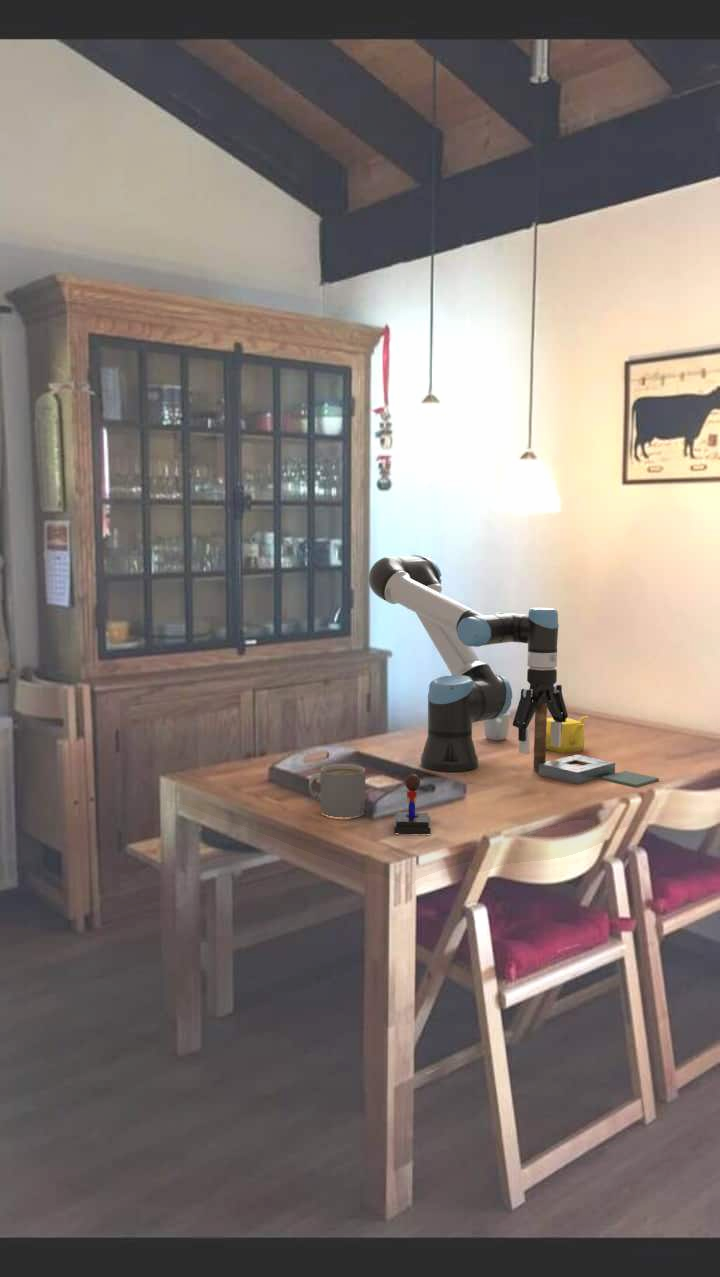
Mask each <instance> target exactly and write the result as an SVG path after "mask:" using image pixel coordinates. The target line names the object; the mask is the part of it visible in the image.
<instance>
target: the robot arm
mask: <svg viewBox="0 0 720 1277" xmlns="http://www.w3.org/2000/svg"><path fill="white" fill-rule="evenodd" d="M441 577H442V572H441V569H440V567H439V566H438V564H437V563H436V562H435V560H433V559H432V558H430V557H427V556H423V555H410V556H386V557H382V558H380V559H379V560H377V561H376V562H375V563H374V564H373V565H372V567H371V568H370V571H369V575H368V584H369V587H370V589H371V591H372V592H373V593H374V594H375V595H376V596H377V597H378V598H380V599H382V600H383V601H385V602H387V603H389V604H392V605H395V604H397V605H398V604H399V605H400V606H403V607H404V608H406V609H407V610H410V611H412V612H414V613H415V614H416V615H417V618H418V619H419V621H420V623H421V625H422V626H423V628H424V629H425V631H426V632H427V634H428V637H429V638H430V640H431V641H432V644H433V645H434V646H435V648H436V650H437V652H438V653H439V654H440V657H441V659H442V660H443V662H444V664H445V665H446V667H447V668H448V670H449V672H450V674H451V675H445V676H443V675H442V676H440V677H436V678H435V679H432V680H431V682H430V683H429V686H428V695H427V738H426V741H425V744H424V748H423V751H422V753H421V755H420V766H422V767H423V768H425V769H428V770H431V771H432V770H433V771H437V772H439V771H440V772H455V773H456V772H466V771H471V770H472V771H473V770H475V769H476V768H478V766H479V757H478V755H477V753H476V748H475V744H474V740H473V723H478V722H482V721H483V722H484V720H492V719H495V718H497V717H500V716H502V715H504V714H505V713H506V712H509V709H510V707H511V705H512V699H513V690H512V686H511V684H510V682H509V681H508V679H507V678H506V677H504V676H503V675H500V674H495V673H494V672H493V669H492V668H491V665H489V663H486V662H483V661H482V662H481V661H480V659H479V657H478V656H477V654H476V652H475V651H474V649H473V647H476V648H478V647H483V646H488V645H490V646H491V645H497V644H504V643H522V644H527V663H526V665H527V667H528V669H527V676H526V678H527V679H526V681H527V682H528V683H529V689H527V688H522V689H520V698H519V701H518V705H517V709H516V710H515V711H516V712H515V715H514V717H513V722H512V726H513V727H515V728H517V729H518V738H517V739H518V753H520V754H525V755H529V754H530V732H531V731H530V730H531V729H530V728H528V727H529V725H530V723H531V721H532V719H533V717H534V716H535V711H536V709H537V707H539V706H540V705H541V704H542V703H547V711H548V712H549V714H550V716H551V718H553V719H554V720H555V721H551V746H556V747H561V732H562V722H565V721H566V718H569V715H568V711H567V707H566V703H565V699H564V696H563V691H562V690H563V689H562V688H563V687H562V684H557V680H558V676H557V674H558V669H557V666H558V638H559V636H558V635H559V627H560V626H559V625H560V624H559V613H558V610H556V609H555V608H552V607H551V608H550V607H531V608H530V609H529V610H528V614H524V613H523V614H522V613H514V612H513V613H512V612H509V611H505V612H501V611H499V612H495V613H494V614H490V615H484V614H481V613H479V612H478V611H475V610H473V609H471V608H469V607H467V606H466V605H464V604H461V603H460V602H458V601H456V600H454V599H453V598H450V597H448V596H445V595H444V594H442V590H443V587H442V586H441V585H442V578H441Z"/></svg>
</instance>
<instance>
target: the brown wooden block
mask: <svg viewBox="0 0 720 1277" xmlns="http://www.w3.org/2000/svg"><path fill="white" fill-rule="evenodd" d="M547 714H548V708H547V703H542V704H541V705H540V706H539V707H537V709H536V711H535V713H534V744H533V771H534V772H538V773H539V764H540V763H544V762H546V760H547V759H546V756H547V755H546V751H547V749H546V724H547V718H548V715H547Z"/></svg>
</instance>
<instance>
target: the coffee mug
mask: <svg viewBox="0 0 720 1277" xmlns="http://www.w3.org/2000/svg"><path fill="white" fill-rule="evenodd" d="M317 781H319V783H320V788H319V789H320V790H319V791H320V792H319V791H318V790H317V789H316V788H317V787H316V782H317ZM308 791H309V794H310V795H311V797H312V798H313V799H316V800H317V801H318V802H319V803H320V804H319V805H320V806H319V807H320V809H319V810H320V811H321V812H322V813H323V814H325V815H328V816H333V817H343V818H345V817H354V816H356V815H358V814H359V811H360V806H361V805H360V804H361V801H362V799H364V798H365V799H366V768H365V767H364V766H361V765H357V764H353V763H351V764H350V763H335V764H329V765H324V766H322V767H321V768H320V772H317V773H314V774H312V775H311V776H310V778H309V781H308ZM320 811H319V812H320Z"/></svg>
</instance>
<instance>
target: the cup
mask: <svg viewBox="0 0 720 1277" xmlns="http://www.w3.org/2000/svg"><path fill="white" fill-rule="evenodd" d="M510 720H511V712H510V711H507V712H506V713H505V714H504V715H502V716H500V717H497V718H495V719H492V720H483V724H484V725H483V727H484V734H485V735H484V736H485V738H486V739H487V740H491V741H503V740H507V738H508V736H509V729H510Z"/></svg>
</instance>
